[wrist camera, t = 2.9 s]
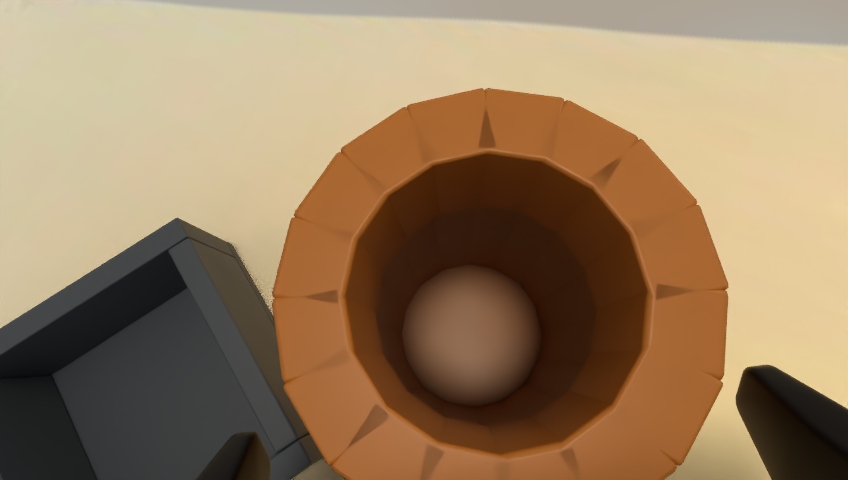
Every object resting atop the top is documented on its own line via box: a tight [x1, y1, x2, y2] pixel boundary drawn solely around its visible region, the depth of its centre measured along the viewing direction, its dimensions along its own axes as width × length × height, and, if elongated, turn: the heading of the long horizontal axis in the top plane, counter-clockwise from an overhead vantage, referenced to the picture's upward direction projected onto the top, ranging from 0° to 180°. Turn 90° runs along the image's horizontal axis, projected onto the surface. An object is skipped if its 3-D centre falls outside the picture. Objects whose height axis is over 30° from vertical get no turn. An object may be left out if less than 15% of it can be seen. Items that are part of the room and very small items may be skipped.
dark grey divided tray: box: [0, 218, 323, 480], centre depth 16 cm, size 9×17×4 cm, turn 123°
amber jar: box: [272, 88, 728, 480], centre depth 12 cm, size 6×6×12 cm
